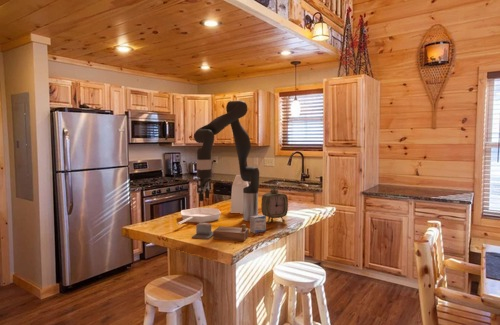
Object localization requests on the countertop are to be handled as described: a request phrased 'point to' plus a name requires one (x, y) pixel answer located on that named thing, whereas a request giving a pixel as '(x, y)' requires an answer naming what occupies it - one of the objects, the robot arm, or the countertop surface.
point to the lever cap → (203, 229)
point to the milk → (238, 194)
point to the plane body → (231, 233)
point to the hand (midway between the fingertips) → (204, 199)
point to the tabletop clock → (274, 204)
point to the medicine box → (257, 223)
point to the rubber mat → (203, 236)
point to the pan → (200, 215)
